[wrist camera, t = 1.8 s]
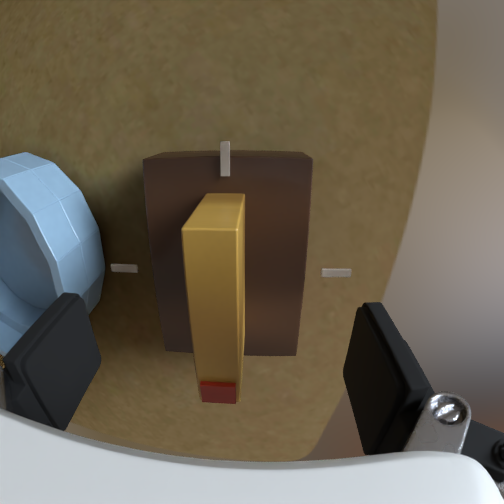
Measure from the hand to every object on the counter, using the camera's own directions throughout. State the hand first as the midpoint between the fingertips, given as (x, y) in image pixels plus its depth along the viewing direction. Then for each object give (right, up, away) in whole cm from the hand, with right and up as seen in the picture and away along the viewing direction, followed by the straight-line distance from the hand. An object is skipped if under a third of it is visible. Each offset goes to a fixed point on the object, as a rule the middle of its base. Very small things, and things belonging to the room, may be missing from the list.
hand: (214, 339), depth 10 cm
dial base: (0, +3, +7) cm, 8 cm away
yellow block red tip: (0, +2, +4) cm, 5 cm away
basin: (-13, +3, +7) cm, 15 cm away
